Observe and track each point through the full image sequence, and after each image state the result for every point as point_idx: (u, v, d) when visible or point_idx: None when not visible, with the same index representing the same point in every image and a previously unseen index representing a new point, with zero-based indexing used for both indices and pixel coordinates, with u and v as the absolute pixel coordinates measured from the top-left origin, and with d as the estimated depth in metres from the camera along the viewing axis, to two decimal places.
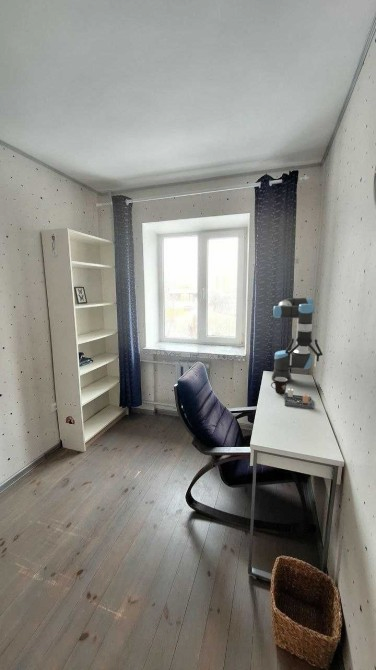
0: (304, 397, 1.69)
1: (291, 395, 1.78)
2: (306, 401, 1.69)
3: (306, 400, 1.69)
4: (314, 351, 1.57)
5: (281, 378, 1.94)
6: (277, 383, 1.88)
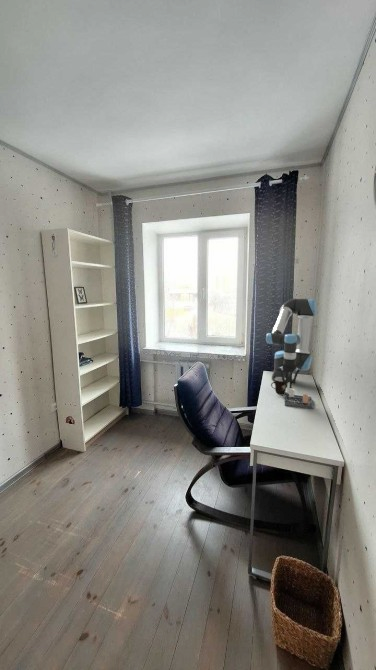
0: (304, 397, 1.69)
1: (293, 395, 1.78)
2: (306, 401, 1.69)
3: (306, 400, 1.69)
4: (290, 378, 1.77)
5: (281, 378, 1.94)
6: (277, 383, 1.88)
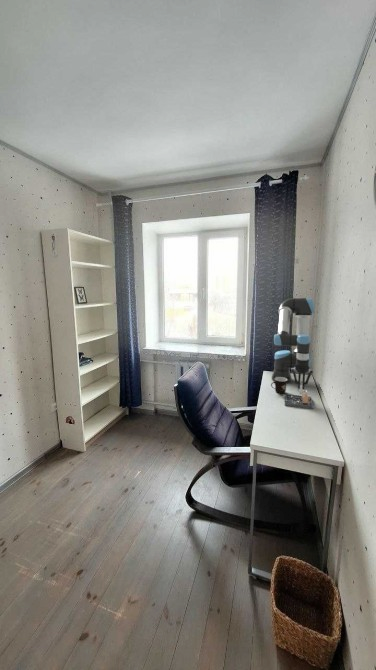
0: (304, 397, 1.69)
1: None
2: (306, 401, 1.69)
3: (306, 400, 1.69)
4: (303, 379, 1.74)
5: (281, 378, 1.94)
6: (277, 383, 1.88)
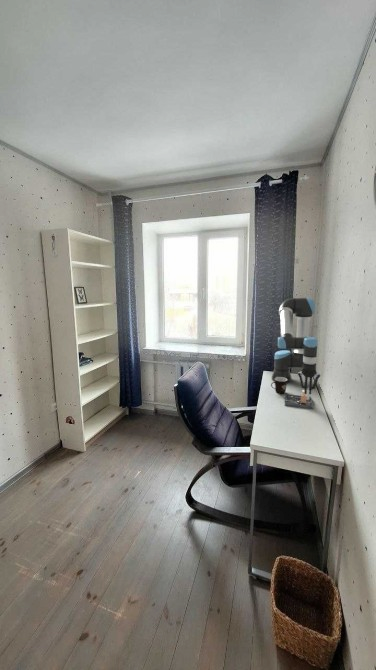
0: (302, 397, 1.69)
1: None
2: (304, 401, 1.69)
3: (304, 400, 1.69)
4: (310, 384, 1.66)
5: (281, 378, 1.94)
6: (277, 383, 1.88)
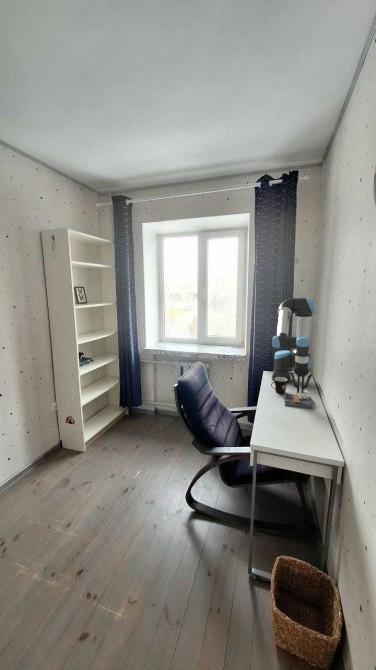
0: (295, 396, 1.71)
1: (305, 397, 1.75)
2: (297, 400, 1.71)
3: (297, 399, 1.71)
4: (302, 383, 1.68)
5: (281, 378, 1.94)
6: (277, 383, 1.88)
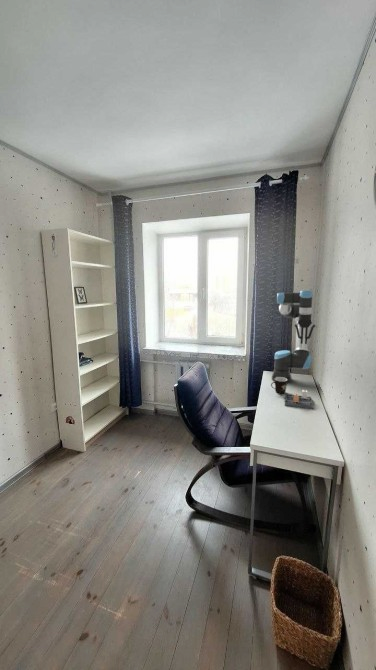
0: (295, 396, 1.71)
1: (305, 397, 1.75)
2: (297, 400, 1.71)
3: (297, 399, 1.71)
4: (306, 334, 1.80)
5: (281, 378, 1.94)
6: (277, 383, 1.88)
